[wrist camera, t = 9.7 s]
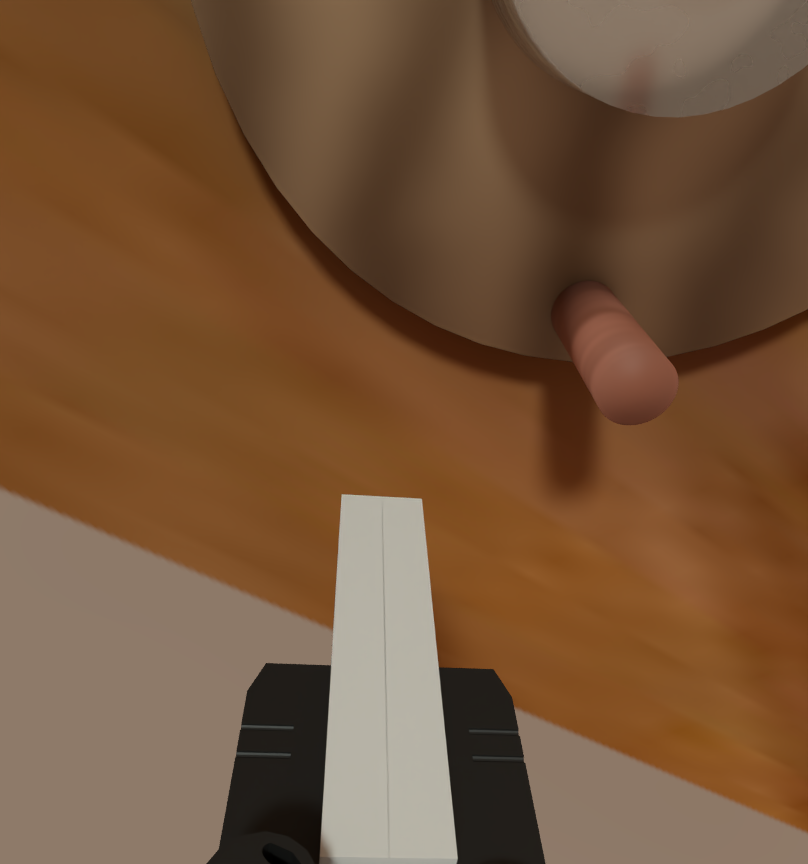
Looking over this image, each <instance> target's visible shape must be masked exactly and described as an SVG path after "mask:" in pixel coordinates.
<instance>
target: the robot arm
mask: <svg viewBox="0 0 808 864" xmlns="http://www.w3.org/2000/svg"><path fill="white" fill-rule="evenodd" d="M523 757H524V755H523V750H522V745H521V740H520V736H519V735H518V725H517V720H516V715H515V710H514V705H513V700H512V697H511V695H510V694H509V692H508V691H507V689H506V688H505V686H504V685H503V683H502V682H501V680H500V679H499V677H498V676H497V674H496V673H495V671H494V670H493V669H468V668H440V667H438V657H437V647H436V637H435V627H434V617H433V607H432V597H431V587H430V577H429V567H428V557H427V547H426V537H425V527H424V517H423V507H422V499H415V498H397V497H379V496H361V495H343V494H342V499H341V515H340V531H339V546H338V562H337V578H336V593H335V609H334V626H333V643H332V658H331V665H330V666H329V665H302V664H273V663H266V664H265V666H264V667H263V669H262V670H261V672H260V673H259V675H258V676H257V678H256V679H255V680H254V682H253V683H252V685H251V686H250V688H249V689H248V691H247V696H246V702H245V707H244V713H243V718H242V725H241V730H240V735H239V740H238V746H237V753H236V758H235V762H234V769H233V773H232V779H231V785H230V790H229V796H228V801H227V807H226V813H225V818H224V823H223V830H222V835H221V840H220V846H219V850H218V851H217V852H216V853H215V854H214V856H213V857H212V858H211V859H210V860H209V862H208V863H207V864H545V859H544V854H543V850H542V844H541V840H540V834H539V829H538V824H537V820H536V814H535V810H534V805H533V800H532V795H531V790H530V785H529V780H528V775H527V770H526V765H525V763H524V759H523Z"/></svg>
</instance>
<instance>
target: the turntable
mask: <svg viewBox="0 0 808 864" xmlns="http://www.w3.org/2000/svg"><path fill="white" fill-rule="evenodd" d="M191 2H192V5H193V8H194V11H195V14H196V17H197V20H198V23H199V26H200V29H201V32H202V35H203V38H204V41H205V44H206V47H207V50H208V53H209V56H210V59H211V62H212V65H213V68H214V71H215V74H216V76H217V78H218V80H219V82H220V84H221V87H222V89H223V91H224V93H225V95H226V97H227V99H228V102H229V104H230V106H231V108H232V110H233V112H234V114H235V117H236V119H237V121H238V123H239V125H240V127H241V129H242V132H243V134H244V135H245V137H246V139H247V140H248V142H249V144H250V145H251V147H252V148H253V150H254V152H255V153H256V155H257V157H258V158H259V160H260V161H261V163H262V165H263V166H264V168H265V169H266V171H267V173H268V174H269V176H270V178H271V179H272V181H273V182H274V184H275V186H276V187H277V189H278V190H279V191H280V192H281V194H282V195H283V196H284V197H285V199H286V200H287V201H288V202H289V204H290V205H291V206H292V207H293V209H294V210H295V211H296V212H297V214H298V215H299V216H300V217H301V219H302V220H303V221H304V222H305V224H306V225H307V226H308V227H309V229H310V230H311V231H312V232H313V233H314V234H315V235H316V236H317V237H318V238H319V239H320V240H321V241H322V242H323V243H324V244H325V245H326V246H327V247H328V248H329V249H330V250H331V251H332V252H333V253H334V254H335V255H336V256H337V257H338V258H339V259H340V260H341V261H342V262H343V263H344V264H345V265H346V266H347V267H348V268H349V269H350V270H352V271H353V272H354V273H356V274H357V275H358V276H360V277H361V278H362V279H364V280H365V281H366V282H367V283H369V284H370V285H371V286H373V287H374V288H375V289H377V290H378V291H379V292H381V293H382V294H383V295H385V296H386V297H387V298H389V299H390V300H391V301H393V302H395V303H396V304H398V305H400V306H402V307H403V308H405V309H407V310H409V311H410V312H412V313H414V314H416V315H417V316H419V317H421V318H423V319H425V320H426V321H428V322H430V323H432V324H433V325H435V326H437V327H440V328H442V329H445V330H447V331H450V332H452V333H455V334H457V335H460V336H462V337H464V338H467V339H469V340H472V341H474V342H477V343H479V344H483V345H487V346H490V347H494V348H498V349H502V350H506V351H509V352H513V353H517V354H521V355H525V356H532V357H539V358H547V359H555V360H562V361H570V362H573V363H574V365H575V367H576V368H577V370H578V372H579V374H580V375H581V377H582V379H583V381H584V382H585V384H586V386H587V388H588V390H589V391H590V393H591V395H592V397H593V398H594V400H595V402H596V404H597V405H598V407H599V409H600V411H601V412H602V414H603V415H604V416H605V417H607V418H608V419H609V420H611V421H613V422H615V423H618V424H622V425H637V424H642V423H645V422H648V421H650V420H652V419H654V418H656V417H657V416H659V415H660V414H662V413H663V412H664V411H665V410H666V409H667V408H668V407H669V406H670V404H671V403H672V401H673V400H674V398H675V396H676V393H677V389H678V374H677V372H676V369H675V367H674V366H673V365H672V363H671V362H670V361H669V360H668V359H667V357H669V356H673V355H678V354H682V353H686V352H691V351H695V350H700V349H704V348H708V347H713V346H717V345H720V344H723V343H726V342H728V341H731V340H734V339H737V338H740V337H743V336H746V335H749V334H752V333H755V332H758V331H761V330H764V329H766V328H768V327H770V326H773V325H775V324H777V323H779V322H781V321H783V320H786V319H788V318H790V317H792V316H794V315H796V314H799V313H801V312H803V311H805V310H807V309H808V65H807V66H805V67H804V68H803V69H802V70H800V71H799V72H797V73H796V74H794V75H793V76H791V77H790V78H789V79H787V80H786V81H784V82H783V83H781V84H780V85H778V86H776V87H774V88H773V89H771V90H769V91H767V92H765V93H763V94H761V95H759V96H758V97H756V98H754V99H751V100H749V101H746V102H744V103H741V104H738V105H736V106H733V107H731V108H728V109H724V110H720V111H716V112H712V113H708V114H704V115H696V116H687V117H654V116H648V115H643V114H637V113H632V112H629V111H626V110H623V109H620V108H617V107H614V106H611V105H609V104H606V103H604V102H602V101H600V100H598V99H595V98H593V97H591V96H589V95H587V94H584V93H582V92H580V91H578V90H576V89H573V88H571V87H569V86H567V85H566V84H564V83H562V82H560V81H558V80H556V79H554V78H553V77H551V76H550V75H549V74H547V73H546V72H545V71H543V70H542V69H541V68H539V67H538V66H537V65H536V64H535V63H534V62H533V61H532V60H531V59H530V58H529V57H528V56H527V55H526V54H525V53H524V52H523V51H522V50H521V49H520V48H519V46H518V45H517V44H516V42H515V41H514V40H513V38H512V37H511V36H510V34H509V33H508V31H507V30H506V28H505V26H504V24H503V22H502V21H501V19H500V17H499V15H498V14H497V12H496V9H495V7H494V4H493V2H492V0H191Z"/></svg>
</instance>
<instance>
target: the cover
mask: <svg viewBox="0 0 808 864" xmlns="http://www.w3.org/2000/svg"><path fill="white" fill-rule="evenodd" d="M492 2H493V4H494V7H495V9H496V12H497V14H498V15H499V17H500V19H501V21H502V22H503V24H504V26H505V28H506V30H507V31H508V33H509V34H510V36H511V37H512V38H513V40H514V41H515V42H516V44H517V45H518V46H519V48H520V49H521V50H522V51H523V52H524V53H525V54H526V55H527V56H528V57H529V58H530V59H531V60H532V61H533V62H534V63H535V64H536V65H537V66H538V67H539V68H541V69H542V70H543V71H545V72H546V73H547V74H549V75H550V76H551V77H553V78H554V79H556V80H558V81H560V82H562V83H564V84H566V85H567V86H569V87H571V88H573V89H576V90H578V91H580V92H582V93H584V94H587V95H589V96H591V97H593V98H595V99H598V100H600V101H602V102H604V103H606V104H609V105H611V106H614V107H617V108H620V109H623V110H626V111H629V112H632V113H637V114H643V115H648V116H654V117H687V116H696V115H704V114H708V113H712V112H716V111H720V110H724V109H728V108H731V107H733V106H736V105H738V104H741V103H744V102H746V101H749V100H751V99H754V98H756V97H758V96H759V95H761V94H763V93H765V92H767V91H769V90H771V89H773V88H774V87H776V86H778V85H780V84H781V83H783V82H784V81H786V80H787V79H789V78H790V77H791V76H793V75H794V74H796V73H797V72H799V71H800V70H802V69H803V68H804V67H805V66H807V65H808V0H492Z"/></svg>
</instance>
